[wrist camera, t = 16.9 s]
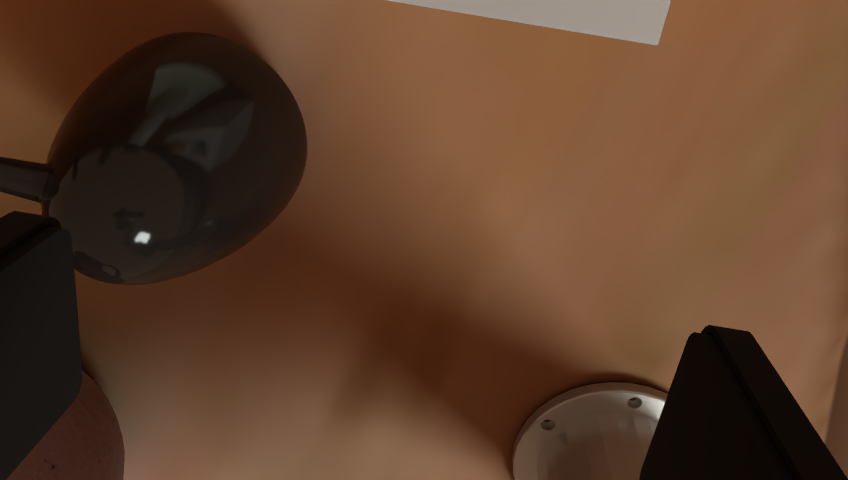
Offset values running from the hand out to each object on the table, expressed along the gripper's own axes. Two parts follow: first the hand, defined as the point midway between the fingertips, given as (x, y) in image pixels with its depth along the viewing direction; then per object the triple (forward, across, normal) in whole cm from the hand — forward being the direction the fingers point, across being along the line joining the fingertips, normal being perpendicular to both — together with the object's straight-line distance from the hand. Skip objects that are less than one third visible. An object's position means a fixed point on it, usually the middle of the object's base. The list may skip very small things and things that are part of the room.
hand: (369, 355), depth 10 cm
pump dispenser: (+27, +11, +5) cm, 30 cm away
